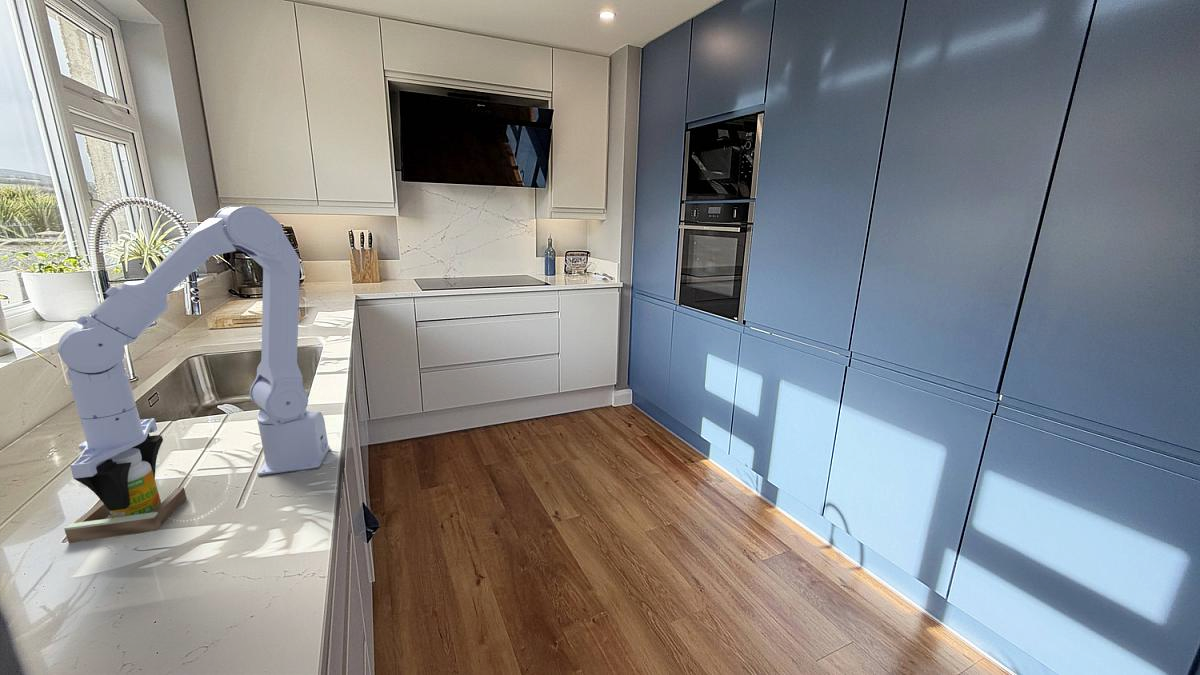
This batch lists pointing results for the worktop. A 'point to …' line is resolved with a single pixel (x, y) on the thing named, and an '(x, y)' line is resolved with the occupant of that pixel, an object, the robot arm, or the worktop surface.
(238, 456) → the worktop surface
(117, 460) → the supplement bottle
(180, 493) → the dock
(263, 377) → the robot arm
